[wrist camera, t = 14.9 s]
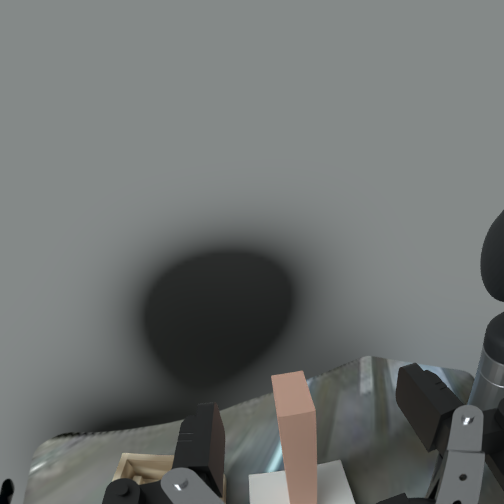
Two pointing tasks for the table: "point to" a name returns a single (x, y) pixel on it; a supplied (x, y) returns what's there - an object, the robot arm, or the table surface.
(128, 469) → the rack
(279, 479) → the mat
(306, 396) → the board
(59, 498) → the table surface
